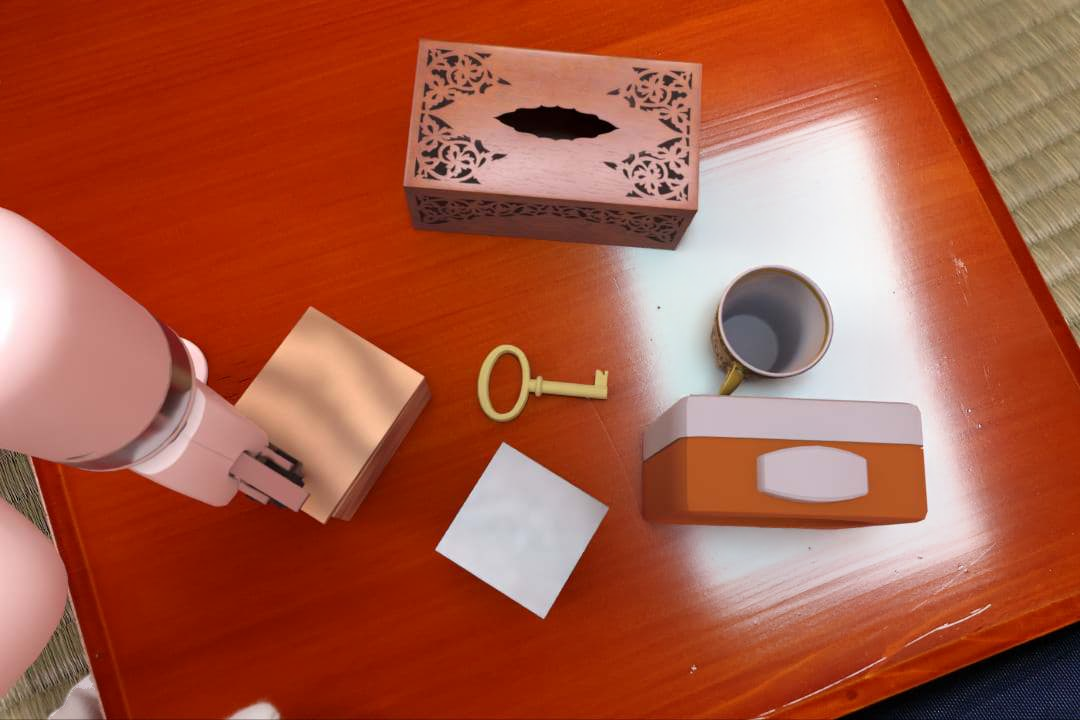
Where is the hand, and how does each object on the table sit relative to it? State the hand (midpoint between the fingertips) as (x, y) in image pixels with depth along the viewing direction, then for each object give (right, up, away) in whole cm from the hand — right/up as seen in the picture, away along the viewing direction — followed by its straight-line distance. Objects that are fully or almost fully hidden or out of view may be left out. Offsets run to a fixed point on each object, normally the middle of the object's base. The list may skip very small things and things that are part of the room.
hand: (216, 440), depth 55 cm
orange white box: (+39, -6, +26) cm, 47 cm away
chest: (+2, -1, +25) cm, 25 cm away
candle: (-14, +4, +26) cm, 29 cm away
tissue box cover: (+21, +24, +32) cm, 45 cm away
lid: (+2, +1, +17) cm, 17 cm away
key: (+20, +2, +27) cm, 34 cm away
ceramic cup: (+39, +5, +29) cm, 49 cm away
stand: (+18, -11, +24) cm, 32 cm away
